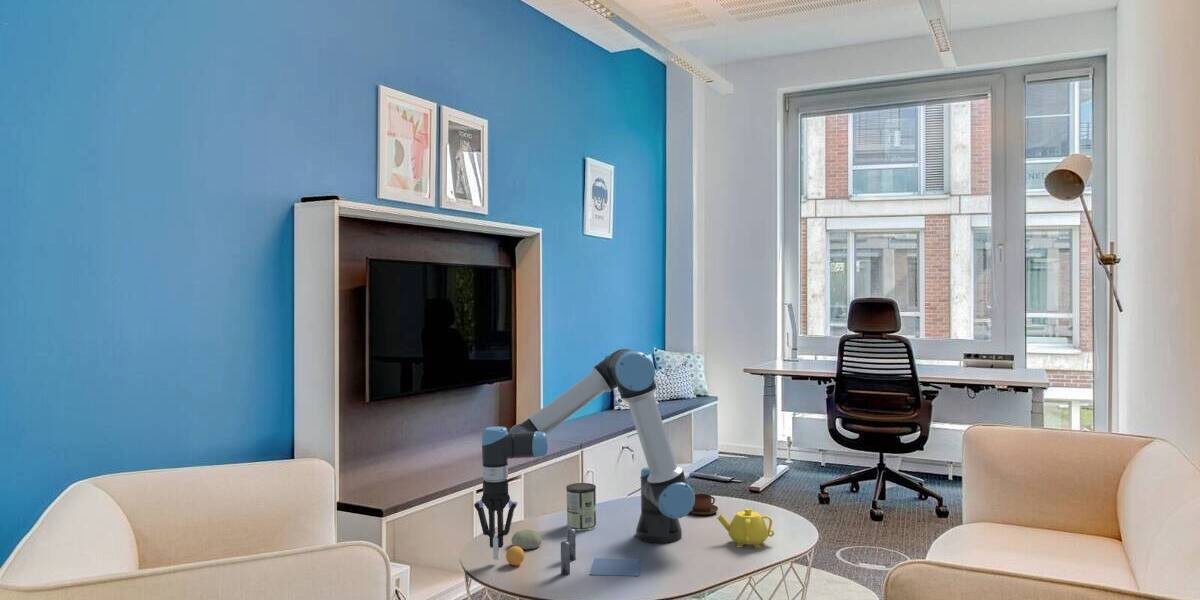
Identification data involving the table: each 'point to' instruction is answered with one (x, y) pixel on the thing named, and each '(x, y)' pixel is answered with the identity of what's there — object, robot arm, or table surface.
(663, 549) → the table surface
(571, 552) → the post
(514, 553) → the ball
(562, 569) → the post
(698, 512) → the cup and saucer
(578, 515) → the coffee can
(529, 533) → the sea urchin shell
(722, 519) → the teapot
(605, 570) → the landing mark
